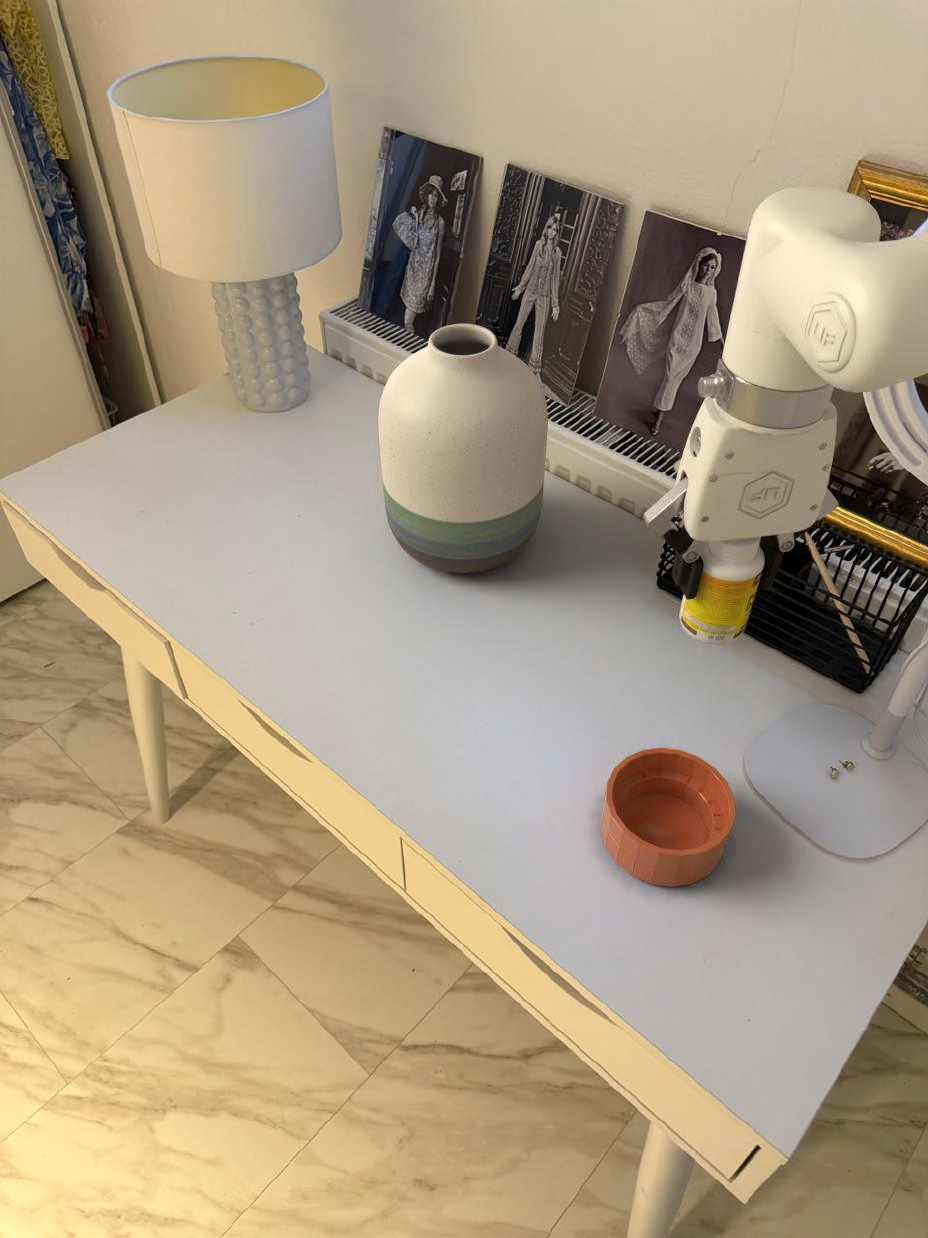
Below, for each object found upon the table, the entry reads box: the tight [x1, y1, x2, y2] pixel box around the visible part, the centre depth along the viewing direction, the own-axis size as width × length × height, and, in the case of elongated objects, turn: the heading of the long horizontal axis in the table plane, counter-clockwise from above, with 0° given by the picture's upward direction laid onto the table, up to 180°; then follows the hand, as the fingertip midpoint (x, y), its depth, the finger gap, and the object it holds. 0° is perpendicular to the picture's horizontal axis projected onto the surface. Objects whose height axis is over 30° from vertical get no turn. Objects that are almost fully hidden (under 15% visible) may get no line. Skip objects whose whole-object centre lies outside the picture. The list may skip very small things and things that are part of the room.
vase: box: [377, 323, 549, 574], centre depth 95 cm, size 17×17×24 cm
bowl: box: [599, 747, 737, 888], centre depth 75 cm, size 10×10×5 cm
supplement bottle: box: [679, 536, 765, 645], centre depth 76 cm, size 6×6×10 cm
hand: (722, 581), depth 76 cm, fingers closed on supplement bottle, 5 cm apart
